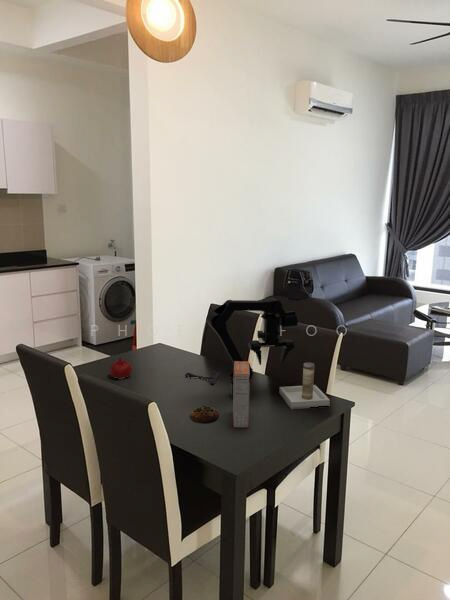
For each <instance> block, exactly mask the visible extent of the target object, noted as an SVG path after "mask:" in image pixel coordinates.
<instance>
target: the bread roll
mask: <svg viewBox="0 0 450 600" xmlns="http://www.w3.org/2000/svg"><path fill="white" fill-rule="evenodd" d="M219 415H220V413H219V411H218V409H217V408H214V407H212V406H208V405H203V406H200V407H196V408H195V409H193V410H192V411H191V413H189V417H190V419H191V420H192V421H193V420H194V422H197V423H201V424H202V423H203V424H209V423H214V422H216V421H217V420H218V419H219Z"/></svg>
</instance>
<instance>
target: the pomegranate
mask: <svg viewBox="0 0 450 600" xmlns="http://www.w3.org/2000/svg"><path fill="white" fill-rule="evenodd" d="M112 363H113V364H112V365H111V366H110V368H109V374H110V376H111V377H112V376H114V377H118V378H122V377H127V376H128V377H130V376H131V374H132V372H133V367H132V365H131V363H130V362H129V361H128V360H127V359H123V360H122V357H118V361H117V360H113V361H112ZM128 377H127V378H128Z"/></svg>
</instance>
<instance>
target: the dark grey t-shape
mask: <svg viewBox="0 0 450 600" xmlns="http://www.w3.org/2000/svg"><path fill="white" fill-rule="evenodd" d="M215 374H216V375H215V376H214V374H211V375H209V376H210V377H203V376H204V375H203V376H201V375H197V374H193V373H191V372H186V373H185V374H184V377H185V376H188V377H198V378H203V379H205V380H206V381H205V380H204V381H205V382H207V379H208V382H209V383H210V384H212V385H213V386H215V384H216V382H217V381H216V380H218V379H217V378H219V377H218V376H220V374H221V373H220V372H219V371H218V372H216V373H215ZM212 376H214V377H212ZM210 379H213V380H210ZM208 382H207V383H208ZM209 383H208V384H209ZM210 384H209V385H210Z"/></svg>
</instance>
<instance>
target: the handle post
mask: <svg viewBox="0 0 450 600" xmlns="http://www.w3.org/2000/svg"><path fill="white" fill-rule="evenodd" d="M314 378H315V363H313V362H304V363H303V367H302V385H301V386H302V398H303V399H306V400H311V399H312V398H313V385H314V380H315V379H314Z"/></svg>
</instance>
